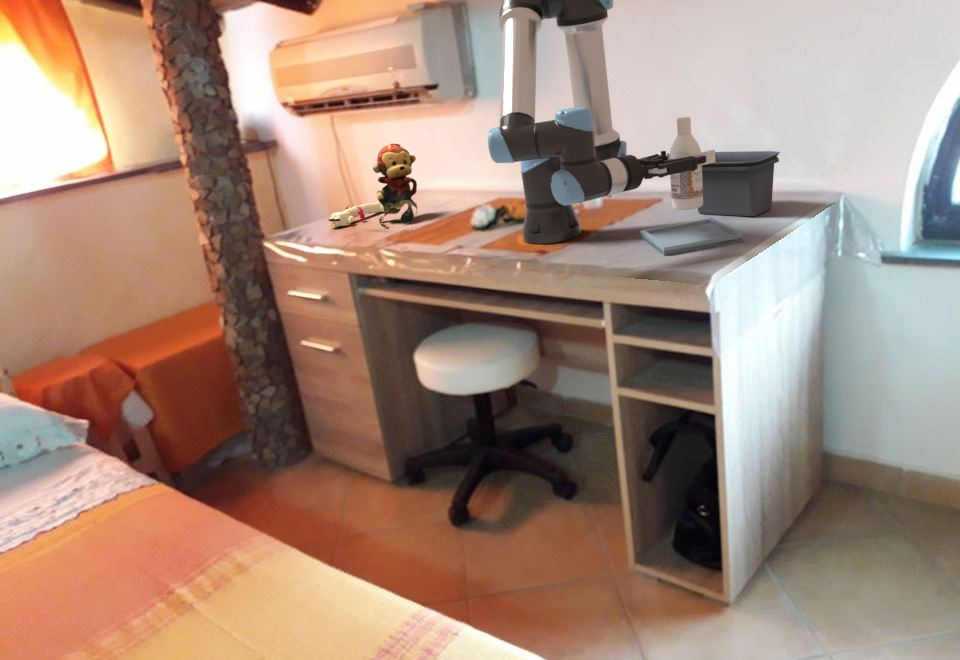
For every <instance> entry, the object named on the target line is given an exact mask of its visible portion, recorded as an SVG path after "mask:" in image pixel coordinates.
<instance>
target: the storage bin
mask: <svg viewBox="0 0 960 660" xmlns="http://www.w3.org/2000/svg"><path fill="white" fill-rule="evenodd" d="M780 153H781V152H780V151H774V150H762V151H761V150H760V151H759V150H757V151H756V150H755V151H753V150H752V151H746V150H745V151H744V150H743V151H715V161H716V162H714V163H710V164H706V165H702V183H703V205H702V206H701V207H699V208H697V212H698V213H699V214H701V215H717V216H718V215H719V216H720V215H721V216H737V217H739V216H740V217H757V216H758V215H761V214H763V213H765V212H767V211H769V210H771V209H772V205H773V203H772V202H773V188H774V176H775V175H774V174H775V164H777V163H779V162H780V159H779V157H778V156H779V154H780Z"/></svg>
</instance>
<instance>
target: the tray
mask: <svg viewBox="0 0 960 660" xmlns="http://www.w3.org/2000/svg"><path fill="white" fill-rule="evenodd" d="M640 239H642V240H644V241H645V242H646V243H648V245H650V246H651V247H652V248H653V249H655V250H657V251H658V252H659V253H660V254H662V255H663V256H669V255H674V254H681V253H686V252H692V251H698V250H704V249H705V250H706V249H710V248H715V247H716V248H717V247H723V246H726V245H732V244H733V245H734V244H738V243H743V242H744V235H743V233H742V232H739V231H737V229H736V230H735V228H734V229H733V228H732V227H730V226H728V225H726V224H724V223H722V222H721V221H718V220H717V219H715V218H713V217H711V218H705V219H698V220H693V221H687V222H682V223H675V224H669V225H664V226H658V227H652V228H646V229H641V230H640Z"/></svg>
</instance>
